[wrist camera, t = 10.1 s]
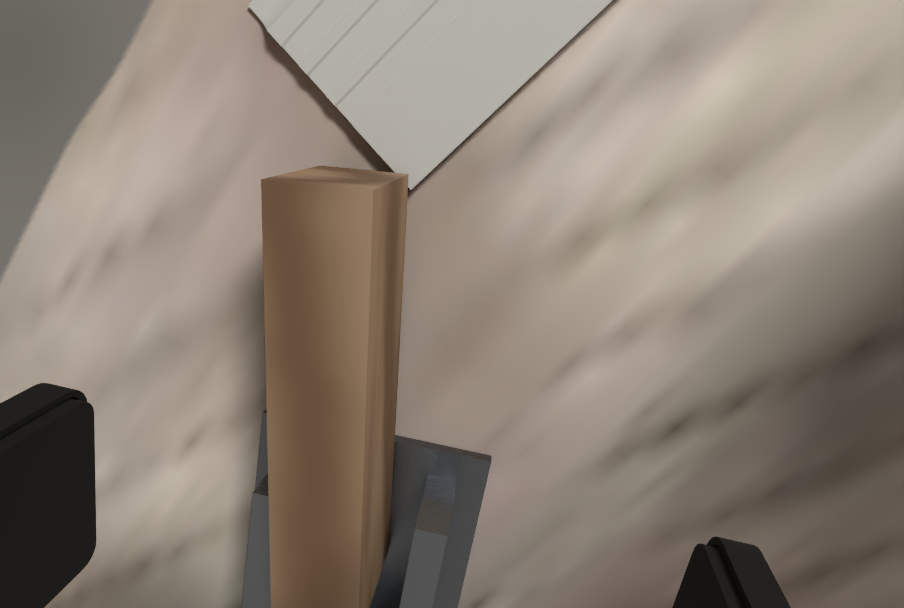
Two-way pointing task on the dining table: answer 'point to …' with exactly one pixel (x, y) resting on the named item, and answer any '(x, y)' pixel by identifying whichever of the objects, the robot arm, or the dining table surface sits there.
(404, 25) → the baseboard molding
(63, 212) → the dining table surface
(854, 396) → the dining table surface
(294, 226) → the rail
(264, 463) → the bracket
